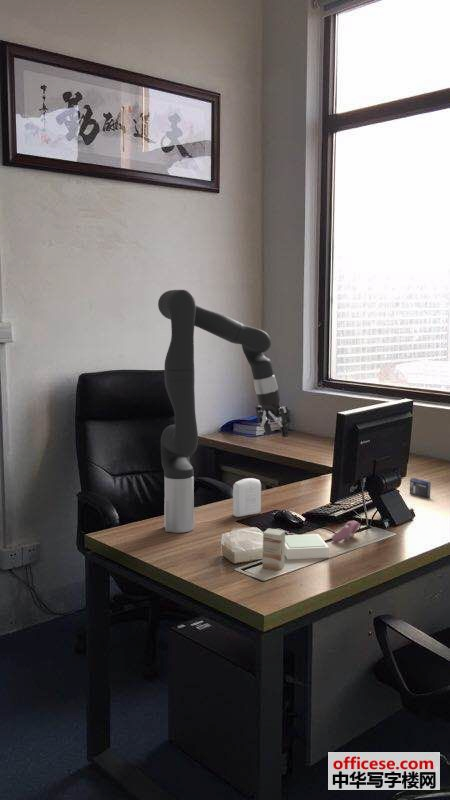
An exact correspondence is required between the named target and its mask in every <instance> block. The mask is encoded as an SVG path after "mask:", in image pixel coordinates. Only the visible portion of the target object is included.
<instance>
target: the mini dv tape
mask: <svg viewBox="0 0 450 800" xmlns="http://www.w3.org/2000/svg"><path fill="white" fill-rule="evenodd" d="M431 484H432V482H431V481H428V480H424V479H421V478H420V479H419V478H416V477H410V480H409V494H410V495H414V496H418V497H422V498H424V499H429V498H431Z"/></svg>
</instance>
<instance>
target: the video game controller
mask: <svg viewBox="0 0 450 800" xmlns="http://www.w3.org/2000/svg"><path fill="white" fill-rule="evenodd" d="M360 527H361V523H359V521H356V520H354V519H353V520H349V521H347V522H346V523H345V525H344V526H343V527H342V528H341V529H340V530H339V531H337V532H336V533H334V534H333V536H332V539H331V540H332V542H334V543H339V542H341V541H343V540H344V541H346V542H347V541H348V540H349V539H351V538H353V537H354V536H355V535H354V534H355V533H356V532H357V531H358V529H360Z"/></svg>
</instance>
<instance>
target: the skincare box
mask: <svg viewBox="0 0 450 800" xmlns="http://www.w3.org/2000/svg"><path fill="white" fill-rule="evenodd" d="M285 535H286V530H284V529H276V528H270V527H268V528H267V529H265V530H264V532H263V536H262V563H261V564H262V566H261V567H262V568H264V569H267V570H268V569H269V570H273V569H274V570H275V571H280V570H281V569H282V568H283V567H285V555H284V554H285Z"/></svg>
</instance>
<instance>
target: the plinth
mask: <svg viewBox="0 0 450 800" xmlns="http://www.w3.org/2000/svg"><path fill="white" fill-rule="evenodd" d="M284 557H285V558H286V559H287V560H302V559H303V560H305V559H306V560H307V559H323V558H324V559H325V558H330V546H329V545H328V544H327V542H325V540H324V539H323V538H322V537H321V535H319V533H312V534H311V533H310V534H309V533H308V534H288V535H287V534H285V554H284Z"/></svg>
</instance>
